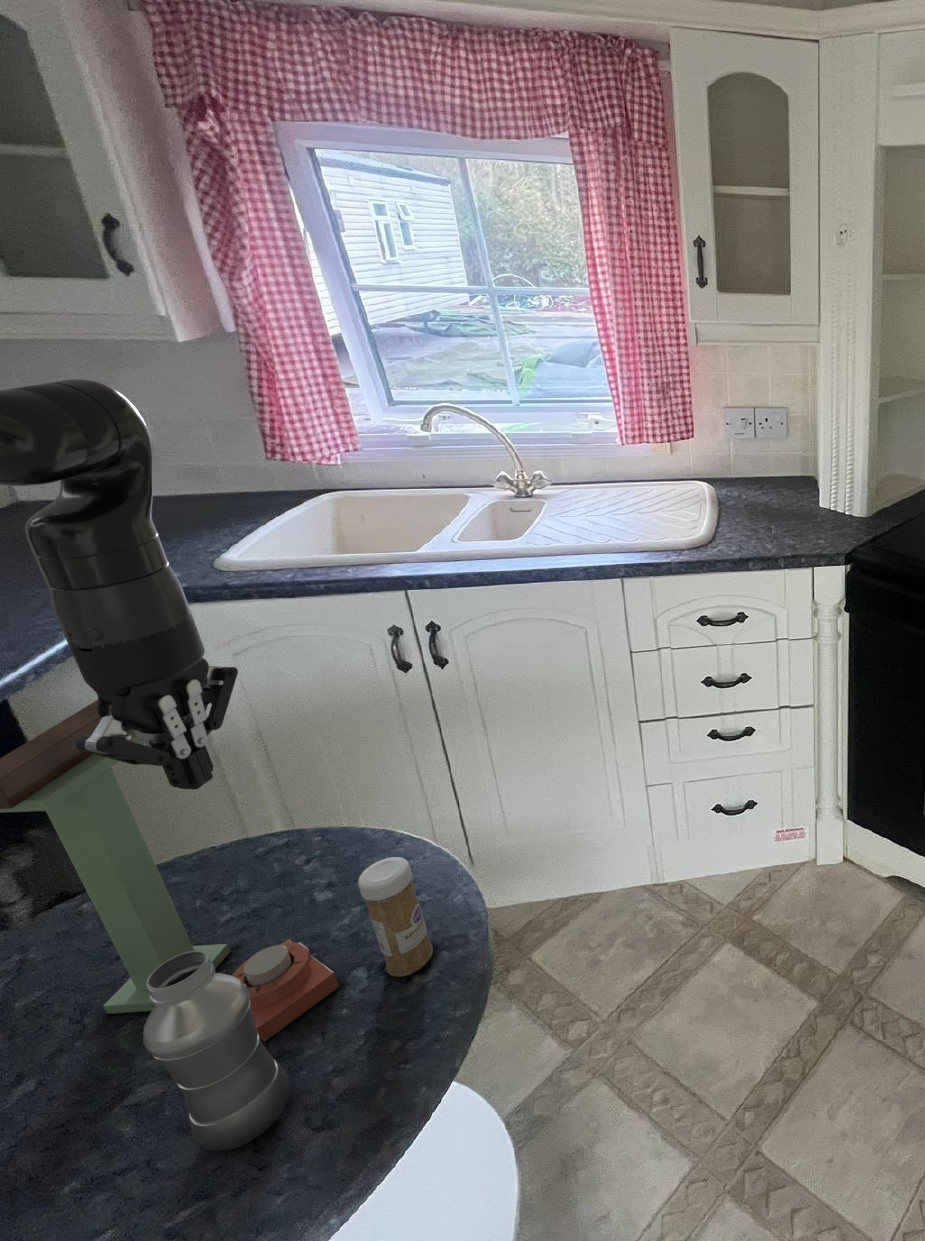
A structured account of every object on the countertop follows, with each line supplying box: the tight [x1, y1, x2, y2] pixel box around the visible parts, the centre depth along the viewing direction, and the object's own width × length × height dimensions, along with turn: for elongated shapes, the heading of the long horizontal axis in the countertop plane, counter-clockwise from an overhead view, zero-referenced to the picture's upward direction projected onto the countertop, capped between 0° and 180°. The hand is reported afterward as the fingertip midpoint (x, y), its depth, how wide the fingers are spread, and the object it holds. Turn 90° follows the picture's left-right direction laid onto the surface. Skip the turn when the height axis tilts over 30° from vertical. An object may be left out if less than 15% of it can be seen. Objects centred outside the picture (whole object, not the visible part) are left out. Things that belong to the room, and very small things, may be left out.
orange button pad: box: [231, 938, 340, 1043], centre depth 79 cm, size 9×7×4 cm
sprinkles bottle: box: [357, 856, 434, 978], centre depth 82 cm, size 5×5×13 cm
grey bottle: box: [142, 950, 291, 1152], centre depth 65 cm, size 6×7×20 cm
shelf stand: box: [0, 729, 231, 1015], centre depth 75 cm, size 11×7×30 cm, turn 6°
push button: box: [243, 944, 292, 987], centre depth 78 cm, size 4×4×2 cm
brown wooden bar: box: [0, 699, 129, 809], centre depth 73 cm, size 21×3×3 cm, turn 6°
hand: (195, 783), depth 69 cm, fingers closed
